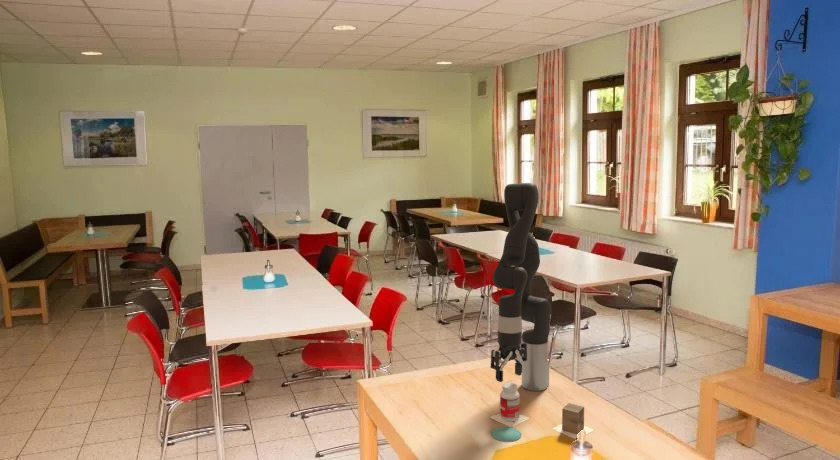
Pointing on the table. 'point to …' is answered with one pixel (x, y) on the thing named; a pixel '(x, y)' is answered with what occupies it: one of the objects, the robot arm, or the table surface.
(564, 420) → the walnut block
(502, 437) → the coaster
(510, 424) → the card
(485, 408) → the table surface
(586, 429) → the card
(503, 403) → the pill bottle
